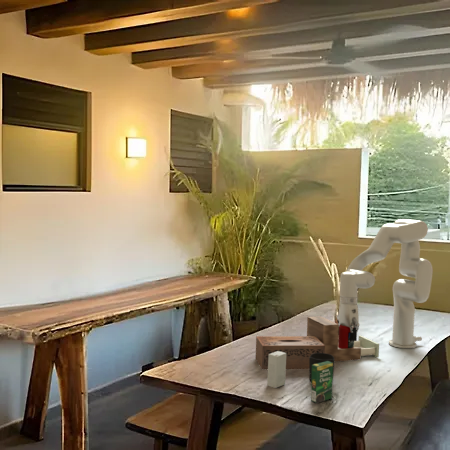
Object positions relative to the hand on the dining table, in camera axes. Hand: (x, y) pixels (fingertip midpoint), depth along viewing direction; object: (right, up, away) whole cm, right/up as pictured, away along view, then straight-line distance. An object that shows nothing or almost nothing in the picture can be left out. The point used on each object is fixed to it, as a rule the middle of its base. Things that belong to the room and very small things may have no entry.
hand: (347, 338), depth 257 cm
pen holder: (-18, -10, -37) cm, 42 cm away
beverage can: (0, -6, 0) cm, 6 cm away
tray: (+3, -7, +1) cm, 8 cm away
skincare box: (-35, -9, -42) cm, 56 cm away
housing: (-7, -7, -2) cm, 10 cm away
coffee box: (-21, -11, -56) cm, 61 cm away
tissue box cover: (-27, -8, -15) cm, 32 cm away
